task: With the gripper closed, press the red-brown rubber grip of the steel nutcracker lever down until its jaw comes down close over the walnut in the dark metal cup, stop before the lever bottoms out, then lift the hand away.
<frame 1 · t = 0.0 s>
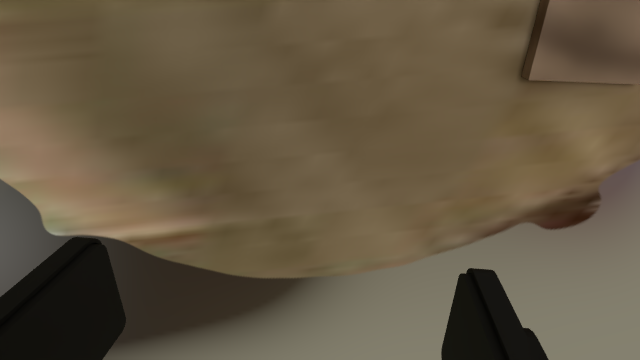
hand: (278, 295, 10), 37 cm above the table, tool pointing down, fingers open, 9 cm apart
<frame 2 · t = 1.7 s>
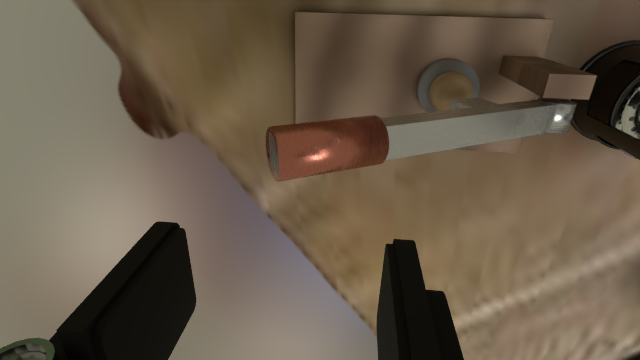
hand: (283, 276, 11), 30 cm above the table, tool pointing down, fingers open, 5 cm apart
french press: (624, 90, 35), on the table
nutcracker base: (409, 81, 37), on the table
nutcracker lever: (438, 126, 24), point 14 cm above the table, hinge at 30.0°
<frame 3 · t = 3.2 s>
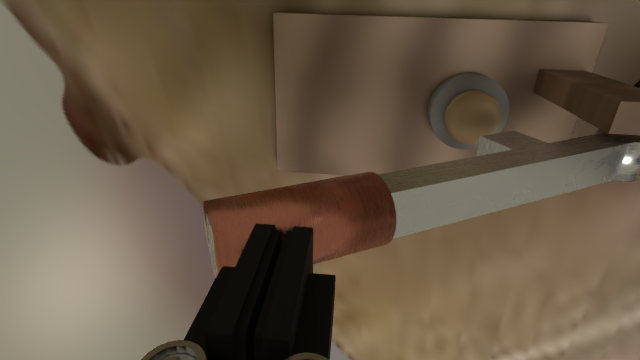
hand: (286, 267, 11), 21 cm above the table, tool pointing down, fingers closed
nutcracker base: (418, 99, 29), on the table
nutcracker lever: (465, 179, 17), point 14 cm above the table, hinge at 30.0°, touching gripper
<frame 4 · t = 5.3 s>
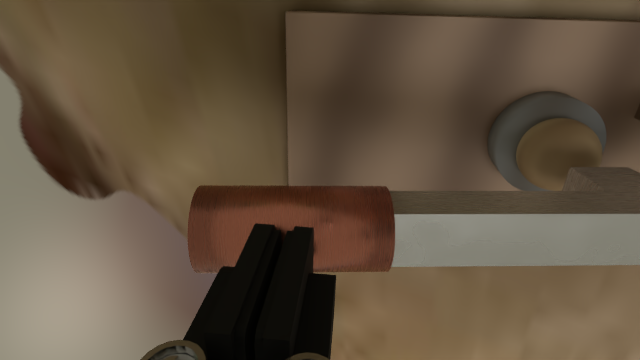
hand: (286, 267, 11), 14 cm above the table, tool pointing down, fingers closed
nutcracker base: (472, 124, 23), on the table
nutcracker lever: (524, 216, 13), point 11 cm above the table, hinge at 8.3°, touching gripper
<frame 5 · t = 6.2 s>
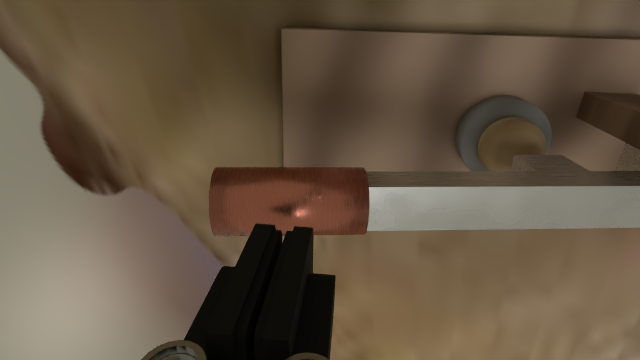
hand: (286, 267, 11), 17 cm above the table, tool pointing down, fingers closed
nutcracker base: (443, 124, 26), on the table
nutcracker lever: (474, 192, 17), point 11 cm above the table, hinge at 8.3°
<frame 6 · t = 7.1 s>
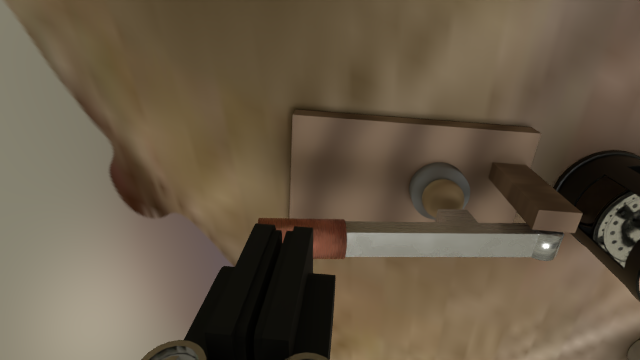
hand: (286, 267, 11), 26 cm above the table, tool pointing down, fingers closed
french press: (604, 192, 37), on the table
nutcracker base: (402, 176, 37), on the table
nutcracker lever: (410, 234, 28), point 11 cm above the table, hinge at 8.3°
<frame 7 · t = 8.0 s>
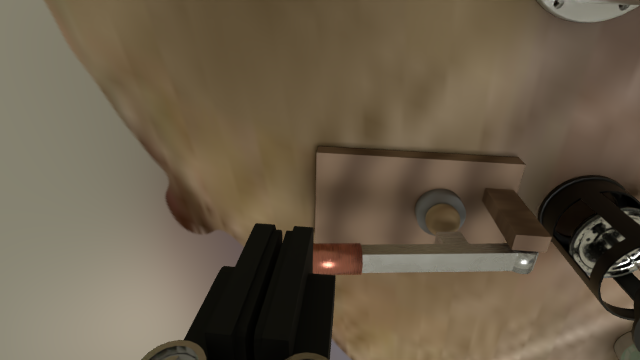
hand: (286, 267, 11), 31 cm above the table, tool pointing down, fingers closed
french press: (585, 209, 43), on the table
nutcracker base: (409, 198, 44), on the table
coffee cup: (636, 343, 51), on the table
nutcracker lever: (413, 253, 35), point 11 cm above the table, hinge at 8.3°
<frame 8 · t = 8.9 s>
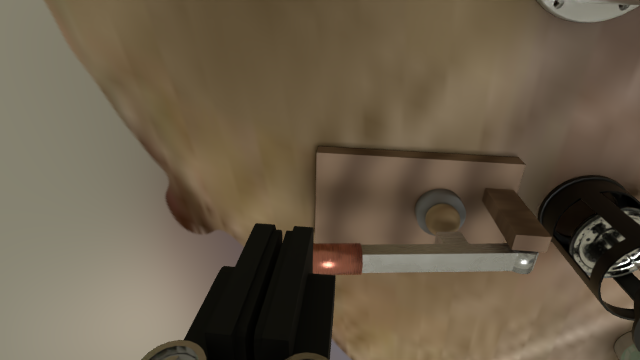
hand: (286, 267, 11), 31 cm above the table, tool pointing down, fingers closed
french press: (585, 209, 43), on the table
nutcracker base: (409, 198, 44), on the table
coffee cup: (636, 343, 51), on the table
nutcracker lever: (413, 253, 35), point 11 cm above the table, hinge at 8.3°
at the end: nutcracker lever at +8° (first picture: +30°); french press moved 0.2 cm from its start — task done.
